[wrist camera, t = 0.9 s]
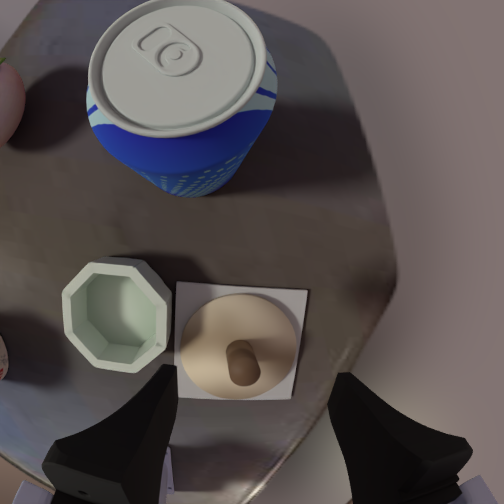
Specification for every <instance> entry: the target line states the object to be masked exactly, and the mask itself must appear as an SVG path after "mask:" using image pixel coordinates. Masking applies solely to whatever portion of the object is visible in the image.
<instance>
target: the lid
mask: <svg viewBox="0 0 504 504" xmlns="http://www.w3.org/2000/svg"><path fill="white" fill-rule="evenodd" d="M295 354H296V336H295V332H294V329H293V326H292V325H291V323H290V321H289V319H288V318H287V317H286V315H285V314H284V313H283V312H282V311H281V310H280V309H279V308H278V307H277V306H276V305H275V304H273V303H272V302H270V301H268V300H267V299H264V298H262V297H259V296H256V295H252V294H245V293H234V294H227V295H223V296H220V297H217V298H214V299H212V300H210V301H208V302H207V303H205V304H204V305H202V306H201V307H200V308H199V309H197V310H196V311H195V312H194V313H193V315H192V316H191V317H190V319H189V320H188V322H187V324H186V325H185V328H184V330H183V334H182V338H181V344H180V356H181V360H182V364H183V367H184V369H185V371H186V373H187V375H188V376H189V377H190V379H191V380H192V381H193V382H194V383H195V384H196V385H197V386H198V387H200V388H201V389H202V390H204V391H206V392H207V393H209V394H211V395H214V396H217V397H220V398H225V399H234V400H237V399H247V398H252V397H256V396H258V395H261V394H263V393H265V392H267V391H269V390H271V389H272V388H274V387H275V386H276V385H277V384H279V383H280V382H281V381H282V380H283V378H284V377H285V376H286V375H287V373H288V372H289V370H290V368H291V366H292V364H293V362H294V359H295Z"/></svg>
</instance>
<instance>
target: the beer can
mask: <svg viewBox="0 0 504 504" xmlns="http://www.w3.org/2000/svg"><path fill="white" fill-rule="evenodd" d="M276 95H277V74H276V68H275V65H274V62H273V59H272V57H271V54H270V52H269V50H268V49H267V47H266V45H265V42H264V39H263V36H262V34H261V32H260V30H259V28H258V27H257V25H256V24H255V23H254V21H253V20H252V19H251V18H250V17H249V16H248V15H247V14H246V13H245V12H243V11H242V10H241V9H239V8H238V7H236V6H234V5H232V4H231V3H228V2H226V1H224V0H151V1H148V2H146V3H143V4H141V5H139V6H137V7H135V8H133V9H132V10H130V11H128V12H127V13H125V14H124V15H123V16H121V17H120V18H119V19H118V20H116V21H115V22H114V23H113V24H112V25H111V26H110V27H109V28H108V29H107V31H106V32H105V33H104V34H103V36H102V37H101V38H100V40H99V41H98V43H97V45H96V47H95V49H94V51H93V54H92V57H91V60H90V64H89V71H88V88H87V99H86V102H87V113H88V118H89V121H90V124H91V127H92V129H93V131H94V133H95V135H96V137H97V138H98V140H99V141H100V143H101V144H102V145H103V146H104V148H105V149H106V150H107V151H108V152H109V153H110V154H111V155H113V156H114V157H115V158H117V159H118V160H119V161H121V162H122V163H124V164H125V165H127V166H128V167H130V168H131V169H133V170H134V171H135V172H137V173H138V174H140V175H141V176H143V177H144V178H146V179H147V180H149V181H150V182H152V183H153V184H155V185H156V186H157V187H159V188H160V189H162V190H164V191H165V192H167V193H170V194H172V195H175V196H180V197H200V196H204V195H207V194H210V193H212V192H214V191H216V190H218V189H219V188H221V187H222V186H224V185H225V184H226V183H227V182H228V181H229V180H230V179H231V178H232V176H233V175H234V174H235V172H236V171H237V169H238V167H239V166H240V164H241V163H242V161H243V159H244V158H245V156H246V155H247V153H248V152H249V150H250V148H251V147H252V145H253V144H254V142H255V141H256V139H257V138H258V136H259V134H260V133H261V131H262V130H263V128H264V127H265V125H266V123H267V121H268V120H269V118H270V115H271V113H272V111H273V107H274V104H275V101H276Z"/></svg>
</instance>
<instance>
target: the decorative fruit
mask: <svg viewBox="0 0 504 504" xmlns="http://www.w3.org/2000/svg"><path fill="white" fill-rule="evenodd" d="M5 59H6V58H0V148H1V147H2V146H3V145H4V144H5V143H6V142H7V141H8V140H9V139H10V138H11V136H12V135H13V134H14V132H15V130H16V129H17V127H18V125H19V123H20V121H21V118H22V116H23V112H24V108H25V89H24V85H23V81H22V79H21V77H20V75H19V74H18V72H17V71H16V70H15V69H14V68H13V67H12V66H10V65H8V64H6V63H3V61H4V60H5Z"/></svg>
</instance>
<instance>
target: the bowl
mask: <svg viewBox="0 0 504 504" xmlns="http://www.w3.org/2000/svg"><path fill="white" fill-rule="evenodd" d="M62 305H63V319H64V331H65V334H66V336H67V337H68V339H69V340H70V341H71V342H72V343H73V344H74V345H75V347H76V348H77V349H78V350H79V351H80V352H81V353H82V354H83V355H84V356H85V358H86V359H87V360H88V361H89V362H90V363H91V364H92V365H93V366H95V367H97V368H103V369H109V370H115V371H122V372H129V373H135V372H136V373H137V372H138V371H139V370H140V369H142V368H143V367H144V366H145V365H147V364H148V363H149V362H150V361H152V360H153V359H154V358H155V357H157V356H158V355H159V354H160V353H162V352H163V351H164V350H165V349H166V347H167V343H168V340H169V336H170V333H171V315H172V293H171V291H170V289H169V288H168V287H167V286H166V285H165V284H164V282H163V280H162V279H161V278H160V277H159V275H158V274H157V273H156V272H155V271H154V270H153V269H151V268H150V266H149V265H148V264H147V263H146V262H145V261H143V260H139V259H131V258H122V257H118V258H117V257H106V256H105V257H102V258H100V259H97V260H95V261H92V262H90V263H88V264H87V265H86V266H85V267H84V268H83V269H82V270H81V272H80V273H79V274H78V275H77V276H76V277H75V278H74V279H73V280H72V281H71V282H70V283H69V284H68V285H67V286H66V288H65V289H64V290H63V292H62Z"/></svg>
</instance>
